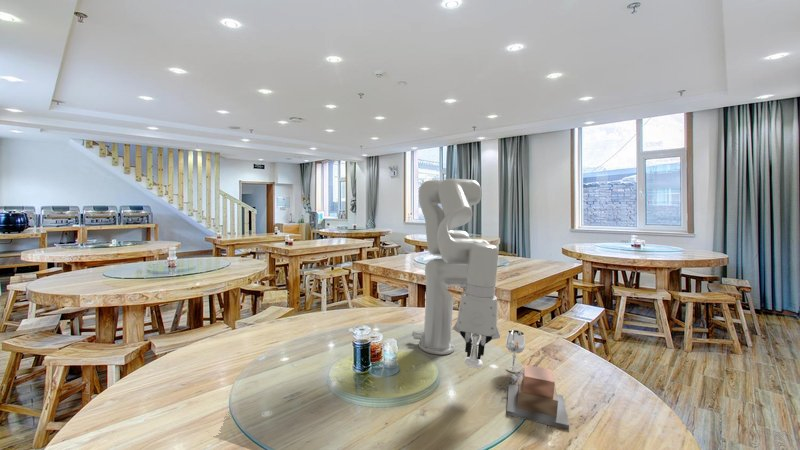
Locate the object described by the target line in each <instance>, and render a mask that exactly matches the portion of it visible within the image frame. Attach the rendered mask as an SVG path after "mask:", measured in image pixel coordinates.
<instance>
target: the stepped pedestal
mask: <svg viewBox="0 0 800 450" xmlns="http://www.w3.org/2000/svg"><path fill="white" fill-rule="evenodd" d="M507 388H508V389H507V390H508V391H507V405H506V416H510V417H515V418H518V417H520V418H519V419H522V418H523V420H528V421H532V422H536V423H540V424H545V425H549V426H552V427H557V428H562V429H566V430H570V422H569V419H568V413H567V409H566V405H565V400H564V395H563V394H558V392H557V387H556V382H555V377H554V372H553V369H549V368H545V367H539V366H534V365H529V364H523V374H522V376H519V377H518V385H515V384H511V383H509V384H508V387H507Z"/></svg>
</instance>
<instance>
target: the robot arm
mask: <svg viewBox="0 0 800 450" xmlns="http://www.w3.org/2000/svg"><path fill="white" fill-rule="evenodd" d="M482 196H483V193H482V187H481V185H480V184H479V182H478V181H477V180H474V179H466V178H446V179H443V180H440V179H439V180H438V179H431V180H426V181H423V182H422V183H421V184H420V186H419V191H418V201H419V206H420V209H421V212H422V215H423V218H424V222H425V235H426V246H427V250H428V253H429V254H430V255H432V256H435V257H436V256H439V257H441V258H432V259H430V260H428V262H426V264H425V267H424V274H425V275H424V276H425V277H424V278H425V288H426V289H425V290H426V291H425V310H424V324H423V325H424V327H423V331H421V332H419V331H415V330H412V334H411V336H412V338H413V339H414V340H419V342H418V347H419V349H420V350H422V351H423V352H425V353H428V354H431V355H432V354H433V355H442V356H443V355H449V354H452V353H453V352H454V351H455V348H456V345H455V344H454V342H452V338H451V337H452V329H453V330H454V331H455V332H456V333H459V334H460V335H461V337H462V338H463V340H464V342H465V350H464V352H465V353H467V354H466V358H467V357H470V356H471V354H472V349H473V345H472V344H471V343H472V342H473V338H472V334H478V335H480V340H479V342H478V343H479V346H477V359H479V360H481V357H484V354H485V345H486V344H488V343H489V342H491V341H493V340H498V339H500V338H501V333H500V331H499V327H498V314H499V313H498V307H499V306H498V298H497V295H495V293H496V284H497V283H496V282H497V272H498V264H499V263H498V262H499V261H498V260H499V248H498V247H497V245H494V244H491V243H489V242H488V240H485V239H483V238H471V237H470V235H469V233H468V232H467V231H465V230H461V229H460V230H459V229H457V228H460V227H462V226H465V225H466V224H467V223H469V222H470V220H472V217H473V210H472V207H471V206H476V205H478V204H479V203H480V201H481V199H482ZM440 205H441V206H440ZM450 287H459V288H461V289H464V291H463V292H462V293H461V297H460V300H459V301H460V302H459V307H458V313H457V319H456V320H457V321H456V322H455V324H454V325H453V328H452V322H453V313H454V312H453V309H454V299H453V294H452V293H451V292H450V291H449V289H448V288H450Z"/></svg>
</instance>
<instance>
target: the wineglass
mask: <svg viewBox="0 0 800 450" xmlns="http://www.w3.org/2000/svg"><path fill="white" fill-rule="evenodd" d="M525 346H526V338H525V333H524V332H522V331H521V330H516V329H510V330H509V329H508V332H507V335H506V338H505V347H506V349H507V351H509V352H510V353H512V367H509V368H510V369H512V370H515V369H516V368H517V367H516V366H515V359H516V358H517V355H516V354H520V353H522V352H523V351H524V350H525ZM515 367H516V368H515Z"/></svg>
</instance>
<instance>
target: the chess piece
mask: <svg viewBox="0 0 800 450" xmlns="http://www.w3.org/2000/svg"><path fill="white" fill-rule="evenodd" d="M471 338H472V343H471V344H472V349H471V355H470V357H467V356H466V357H465V358H464V362H463V363H464V365H465V366H467V367H470V368H473V369H480V368H482V367H483V365H484V364H483V360H481V359H480V360H479V359H477V357H478V346H479V342H478V341H479V339H480V338H481V335H478V334H473V333H471Z"/></svg>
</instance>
